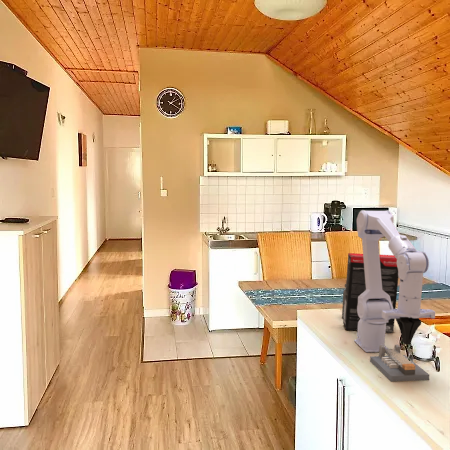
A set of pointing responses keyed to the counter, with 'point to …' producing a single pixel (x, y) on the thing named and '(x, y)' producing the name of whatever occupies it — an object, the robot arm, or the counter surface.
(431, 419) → the counter surface
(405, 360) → the orange-ended grey bar
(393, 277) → the graphics card box
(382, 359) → the heatsink base
